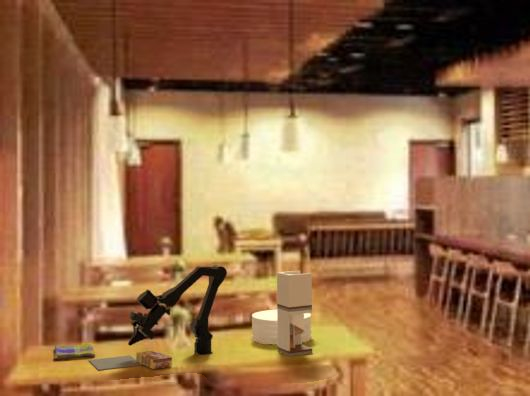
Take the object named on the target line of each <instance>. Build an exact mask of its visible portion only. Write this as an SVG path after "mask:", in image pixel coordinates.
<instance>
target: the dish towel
mask: <svg viewBox="0 0 530 396" xmlns="http://www.w3.org/2000/svg"><path fill="white" fill-rule="evenodd" d="M95 357H96V353H95V350H94V347H93V343H92V342H86V343H81V344H78V345H54V354H53V359H52V360H53V361H64V360H65V361H66V359H68V360H83V359H84V360H85V359H95Z"/></svg>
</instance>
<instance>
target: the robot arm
mask: <svg viewBox="0 0 530 396" xmlns="http://www.w3.org/2000/svg"><path fill="white" fill-rule="evenodd" d="M227 275H228V271H227V269H226V268H225V267H224V266H223V265H222V266H221V265H218V264H214V265H212V266H201V265H197V266H196V267H195V268H194V269H193V270H192V271H191V272H190V273H188V275H186V276H185V277H184V278H183V279H182V280H181V281H180V282H179V283H177V284H176V285H175V286H173V287H171V288H168V289H167V290H166V291H164V292H162V294H160V295H154V294H153V292H152V291H151V290H150V289H146V290H145V291H143V292H141V293H140V294H139V295H138V297H137V298H136V302H138V303H139V305H141V306H142V307H143V308H144V309H145V310H149V311H148V312H145V313H142V312H140V311H139V312H135V311H133V310H131V312H130V314H129V316H128V319H130V320H131V321H130V324H129V325H131V326H132V330H133V331H132V335H131V337H130V339H129V340H128V343H127V345H129V346H133V345H134V344H136V343H139V342H140V341H144V340H145V339H147V337H148V338H149V339H150V340H154V338H155V337H156V336H155V332H154V331H152V329H154V327H155V326H158V325H159V322H160V320H161V319H162V317H164V315H165V314H166V315H168V316H171V307H174V306H176V305H177V303H178V302H179V301H180V299H181V297H182V296H183V294H184V293H185V292H186V291H187V290H188V289H190V288H191V287H192V286H193V285H194V284H195V283H196V282H197V281H198V280H200V279H201V278H202V277H204V276H205V277H208V285H207V288H206V291H205V294H204V297H203V300H202V303H201V306H200V309H199V312H198V314H197V315H196V317H195V316H192V318H191V321H190V322H191V323H190V324H189V326H190V328H189V330H190V333H191V334H192V335H194V336H193V337H195V342H194V345H193V346H194V351H193V352H194V353H196V354H197V355H208V354H213V353H214V351H212V340H213V334H212V333H211V332H210V331H209V326H210V325H209V317H210V313H211V310H212V307H213V305H214V303H215V299H216V297H217V293H218V290H219V287H220V286H221V285H222V284H223V282H224V281H225V279H226V278H227ZM159 303H160V304H159ZM166 306H167V307H168V308H167V307H166ZM169 307H170V308H169Z"/></svg>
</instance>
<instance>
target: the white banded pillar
mask: <svg viewBox="0 0 530 396" xmlns="http://www.w3.org/2000/svg"><path fill="white" fill-rule="evenodd" d="M312 276H313V275H312V272H307V273H306V272H305V273H301V270H292V271H291V270H290V271H278V272H276V297H277V298H276V301H277V302H276V304H277V305H276V310H277V325H278V345H277V352H278V353H280V352H281V354H283V355H286V356H288V357H294V356H295V355H296V356H301V355H302V354H303V355H308V354H309V353H310V354H313V348H312V347H309V346H307V345H304V344H303V343H301V334H302V333H303V332H304V314H305V313H310V314H311V313H313V299H312V298H313V292H312V291H313V289H312V288H313V287H312V286H313V285H312V279H313V278H312Z"/></svg>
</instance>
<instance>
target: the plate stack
mask: <svg viewBox="0 0 530 396" xmlns="http://www.w3.org/2000/svg"><path fill="white" fill-rule="evenodd" d="M251 319H252V320H251V324H252V325H251V329H252V331H251V334H252V336H251V339H253V340H254V341H253V340H252V341H253V342H255V341H256V342H255V343H257V342H259V343H258V344H261V343H265V344H264V345H268V344H277V345H276V346H278V325H277V309H270V310H269V309H268V310H261V311H257V312H254V313H252V314H251ZM310 339H311V340H312V314H311V313H305V314H304V332H303V333H302V334H301V342H305V341H308V340H310ZM311 340H310V341H311ZM308 342H309V341H308ZM305 343H306V342H305Z"/></svg>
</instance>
